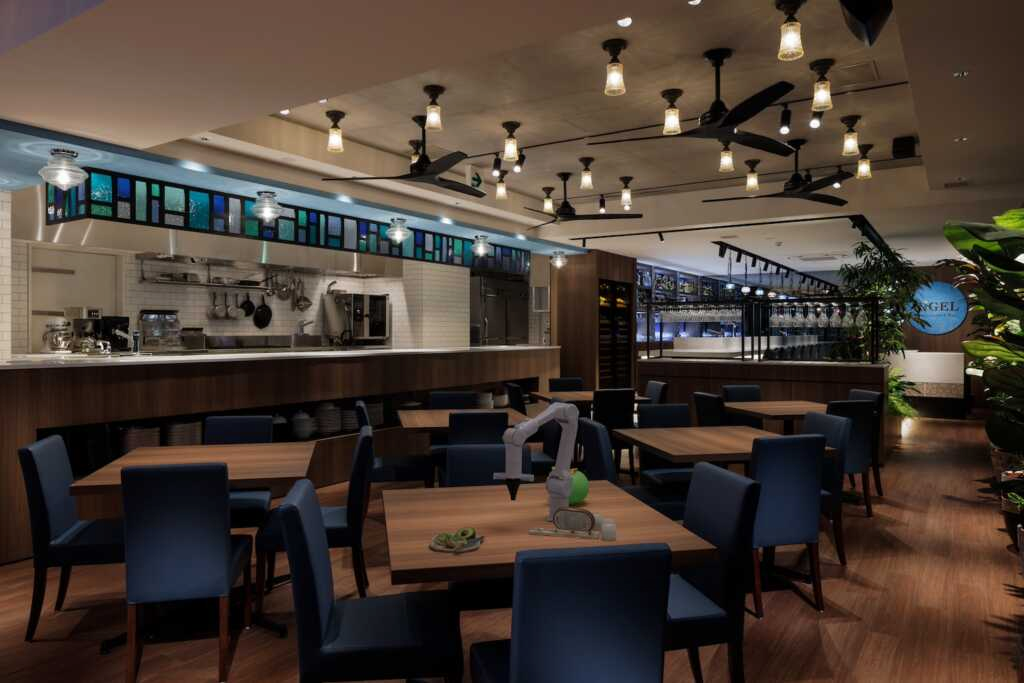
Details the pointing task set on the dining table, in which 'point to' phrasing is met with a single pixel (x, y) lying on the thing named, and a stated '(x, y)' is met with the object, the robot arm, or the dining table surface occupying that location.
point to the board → (565, 533)
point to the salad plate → (457, 541)
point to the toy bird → (578, 486)
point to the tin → (573, 519)
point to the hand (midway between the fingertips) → (513, 499)
